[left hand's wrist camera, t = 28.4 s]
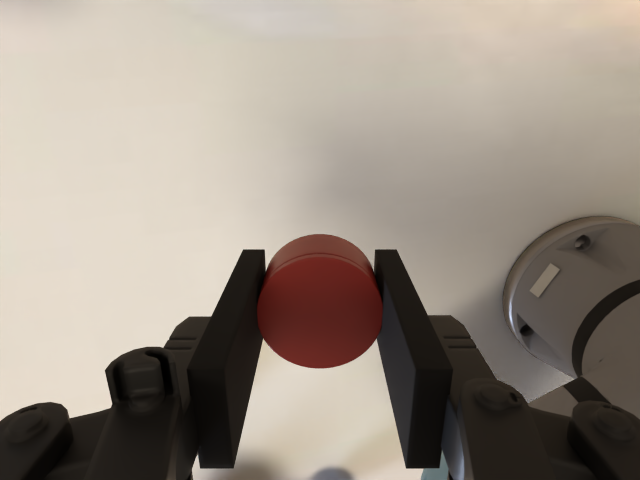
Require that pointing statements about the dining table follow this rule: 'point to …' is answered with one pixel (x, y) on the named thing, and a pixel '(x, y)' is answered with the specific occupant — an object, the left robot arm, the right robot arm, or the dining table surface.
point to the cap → (319, 302)
